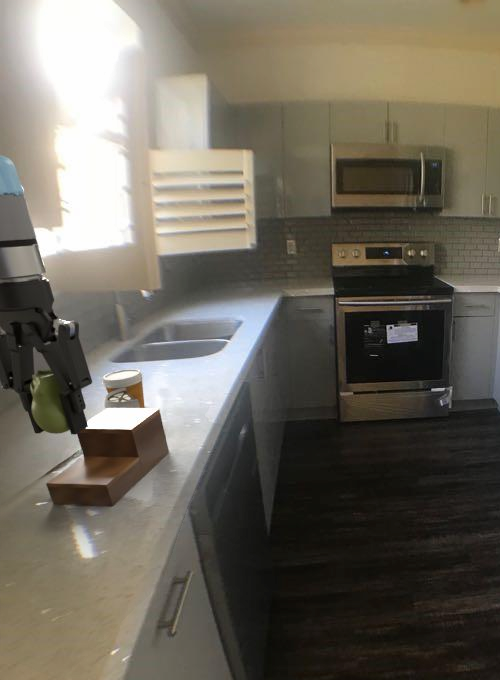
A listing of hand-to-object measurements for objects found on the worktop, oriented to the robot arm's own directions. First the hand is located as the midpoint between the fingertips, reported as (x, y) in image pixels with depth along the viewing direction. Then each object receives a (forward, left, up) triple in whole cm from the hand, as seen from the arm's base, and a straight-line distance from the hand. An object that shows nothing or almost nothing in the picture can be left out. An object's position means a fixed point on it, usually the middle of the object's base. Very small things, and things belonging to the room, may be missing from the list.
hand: (61, 429), depth 71 cm
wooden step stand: (-7, +17, -19) cm, 27 cm away
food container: (-17, +36, -20) cm, 45 cm away
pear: (0, 0, 0) cm, 0 cm away
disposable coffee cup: (-22, +46, -20) cm, 55 cm away
